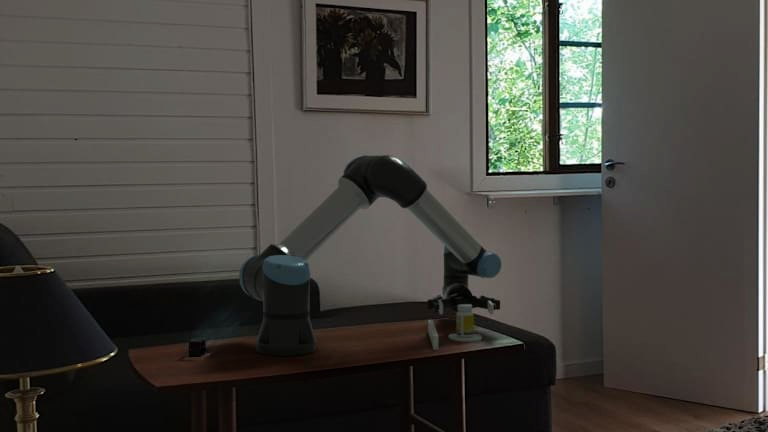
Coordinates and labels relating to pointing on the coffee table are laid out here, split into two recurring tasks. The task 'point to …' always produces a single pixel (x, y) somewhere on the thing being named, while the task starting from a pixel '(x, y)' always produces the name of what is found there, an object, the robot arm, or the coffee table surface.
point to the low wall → (433, 334)
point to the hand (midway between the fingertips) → (466, 309)
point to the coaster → (465, 338)
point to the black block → (197, 347)
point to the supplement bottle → (465, 320)
